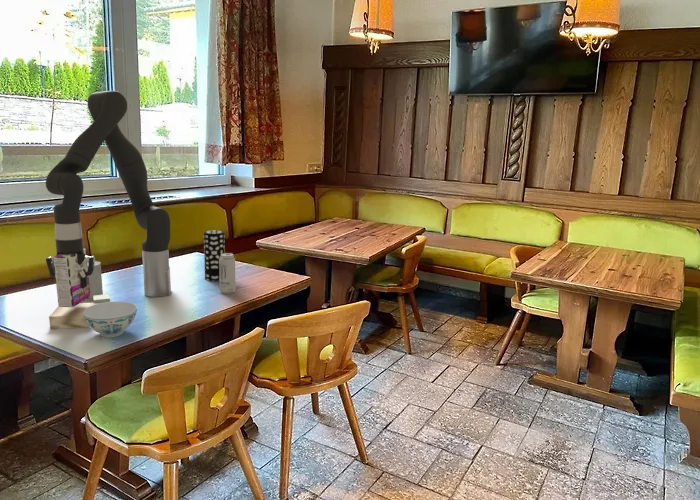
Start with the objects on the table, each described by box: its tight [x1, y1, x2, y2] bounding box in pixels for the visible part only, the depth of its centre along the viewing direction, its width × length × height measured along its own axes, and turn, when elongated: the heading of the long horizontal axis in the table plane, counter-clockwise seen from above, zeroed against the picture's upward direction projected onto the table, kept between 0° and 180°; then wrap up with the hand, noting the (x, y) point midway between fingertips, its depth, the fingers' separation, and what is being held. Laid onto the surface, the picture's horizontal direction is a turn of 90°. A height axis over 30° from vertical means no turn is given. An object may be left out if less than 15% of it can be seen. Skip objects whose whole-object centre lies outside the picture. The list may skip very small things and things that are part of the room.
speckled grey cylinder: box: [84, 260, 104, 301], centre depth 194 cm, size 10×10×12 cm
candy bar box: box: [52, 248, 90, 307], centre depth 168 cm, size 11×5×16 cm, turn 179°
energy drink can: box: [218, 252, 236, 295], centre depth 204 cm, size 6×6×15 cm
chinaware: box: [83, 301, 138, 338], centre depth 162 cm, size 15×15×8 cm
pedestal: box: [48, 302, 100, 330], centre depth 171 cm, size 12×12×4 cm
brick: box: [92, 293, 111, 303], centre depth 181 cm, size 5×5×5 cm
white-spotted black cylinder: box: [203, 229, 226, 282], centre depth 220 cm, size 8×8×20 cm
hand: (73, 287), depth 169 cm, fingers closed on candy bar box, 5 cm apart
